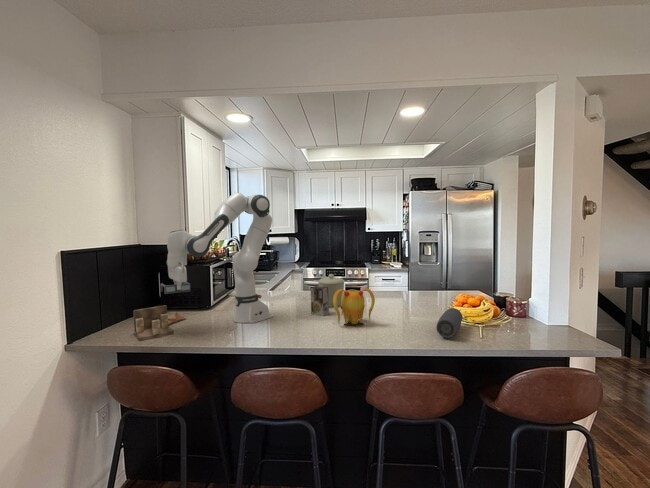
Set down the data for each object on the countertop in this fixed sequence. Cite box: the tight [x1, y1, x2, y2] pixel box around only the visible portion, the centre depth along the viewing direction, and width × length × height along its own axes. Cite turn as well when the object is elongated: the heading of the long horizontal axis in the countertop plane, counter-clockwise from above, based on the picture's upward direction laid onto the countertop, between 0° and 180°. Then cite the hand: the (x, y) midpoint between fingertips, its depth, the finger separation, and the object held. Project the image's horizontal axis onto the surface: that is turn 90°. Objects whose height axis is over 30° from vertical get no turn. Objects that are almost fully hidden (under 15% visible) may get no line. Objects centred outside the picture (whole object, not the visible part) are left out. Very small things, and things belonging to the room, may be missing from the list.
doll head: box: [333, 287, 376, 328], centre depth 167 cm, size 22×15×20 cm
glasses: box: [159, 281, 192, 295], centre depth 162 cm, size 12×10×4 cm
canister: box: [317, 273, 346, 308], centre depth 206 cm, size 18×18×21 cm
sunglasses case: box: [168, 312, 187, 327], centre depth 176 cm, size 18×7×7 cm
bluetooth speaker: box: [436, 307, 463, 338], centre depth 151 cm, size 23×9×10 cm, turn 149°
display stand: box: [133, 304, 175, 342], centre depth 157 cm, size 15×14×12 cm
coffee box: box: [310, 285, 330, 316], centre depth 187 cm, size 9×6×16 cm
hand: (177, 289), depth 159 cm, fingers closed on glasses, 2 cm apart
